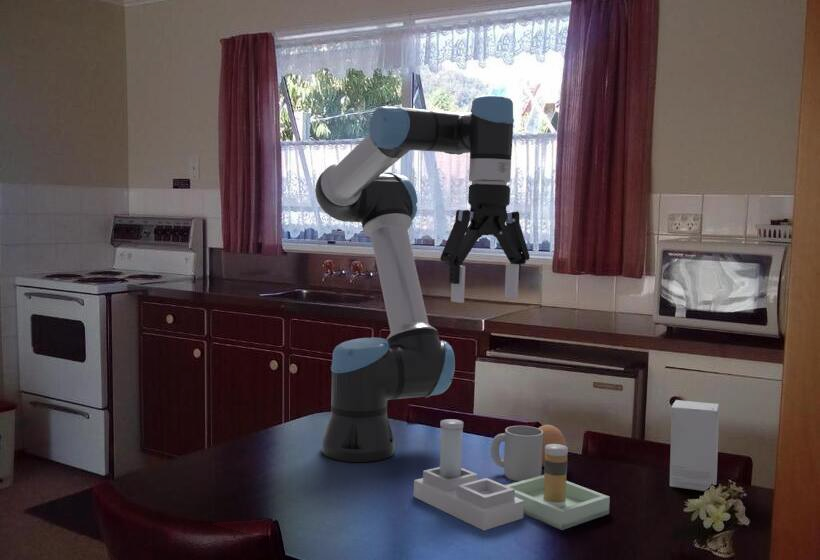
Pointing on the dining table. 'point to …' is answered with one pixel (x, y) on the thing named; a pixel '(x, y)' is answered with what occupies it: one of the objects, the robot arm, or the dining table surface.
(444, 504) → the block
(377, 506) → the dining table surface
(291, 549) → the dining table surface
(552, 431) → the egg
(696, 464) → the skincare box
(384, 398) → the robot arm
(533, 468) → the cup
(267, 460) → the dining table surface
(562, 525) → the parts tray
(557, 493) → the cylinder
